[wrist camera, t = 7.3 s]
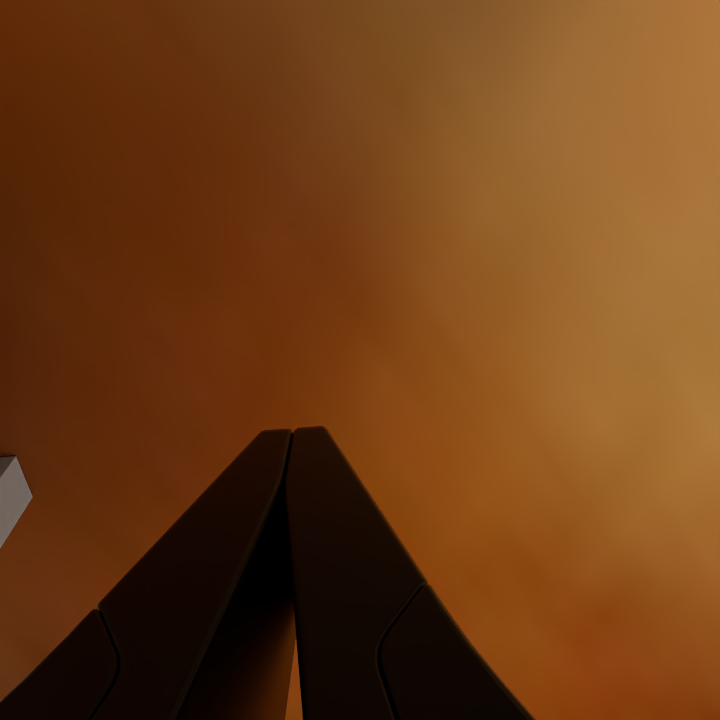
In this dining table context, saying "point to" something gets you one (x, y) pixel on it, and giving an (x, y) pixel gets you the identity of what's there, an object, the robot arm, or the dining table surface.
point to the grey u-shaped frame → (11, 495)
